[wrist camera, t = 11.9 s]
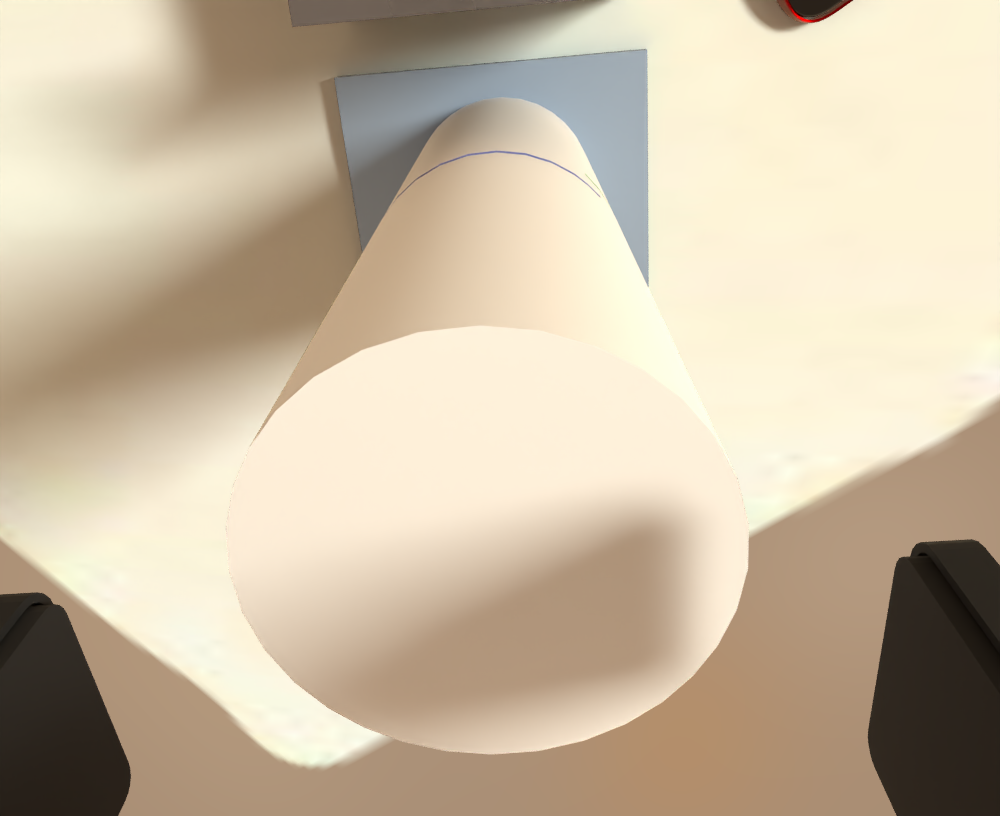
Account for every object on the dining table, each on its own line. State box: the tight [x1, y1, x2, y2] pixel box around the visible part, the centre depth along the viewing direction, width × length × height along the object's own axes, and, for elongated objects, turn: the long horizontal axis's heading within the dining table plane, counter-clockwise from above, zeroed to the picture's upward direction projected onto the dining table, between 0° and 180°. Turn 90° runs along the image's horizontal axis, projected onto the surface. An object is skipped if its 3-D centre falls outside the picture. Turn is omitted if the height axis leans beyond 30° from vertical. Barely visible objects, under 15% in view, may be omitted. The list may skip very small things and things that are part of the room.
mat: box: [334, 49, 648, 286], centre depth 34 cm, size 10×12×1 cm
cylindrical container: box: [226, 97, 749, 754], centre depth 23 cm, size 7×7×25 cm
